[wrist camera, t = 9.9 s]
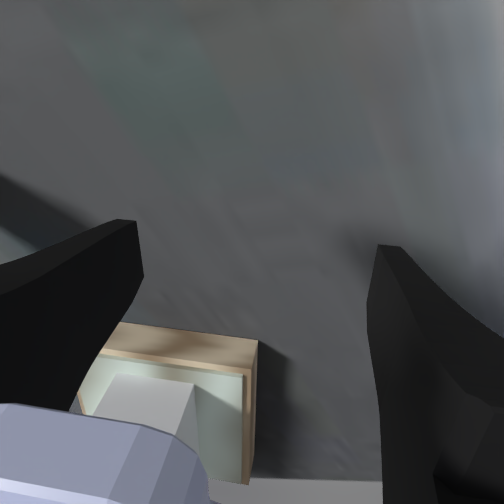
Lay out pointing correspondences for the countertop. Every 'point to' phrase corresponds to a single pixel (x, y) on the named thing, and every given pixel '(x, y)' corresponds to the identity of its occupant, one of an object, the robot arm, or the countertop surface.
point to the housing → (153, 405)
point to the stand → (205, 385)
